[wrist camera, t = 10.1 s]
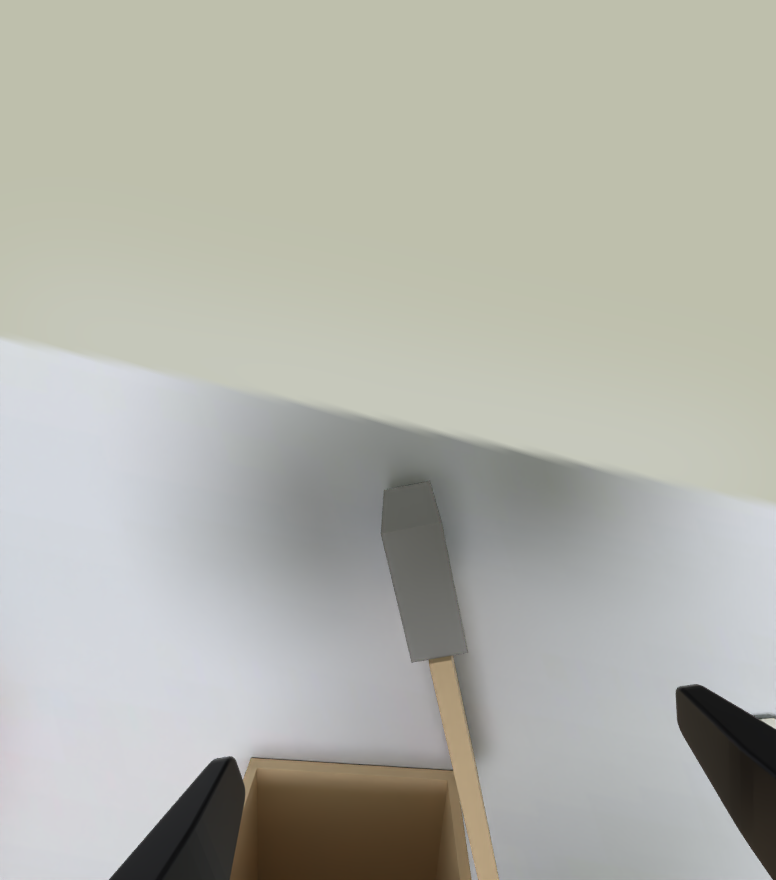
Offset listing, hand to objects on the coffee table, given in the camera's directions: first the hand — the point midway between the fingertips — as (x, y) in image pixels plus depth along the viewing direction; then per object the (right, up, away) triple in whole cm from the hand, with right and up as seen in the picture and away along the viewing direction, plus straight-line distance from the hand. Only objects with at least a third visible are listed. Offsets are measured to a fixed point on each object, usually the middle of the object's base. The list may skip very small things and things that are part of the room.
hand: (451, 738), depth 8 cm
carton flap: (+1, -4, +12) cm, 12 cm away
